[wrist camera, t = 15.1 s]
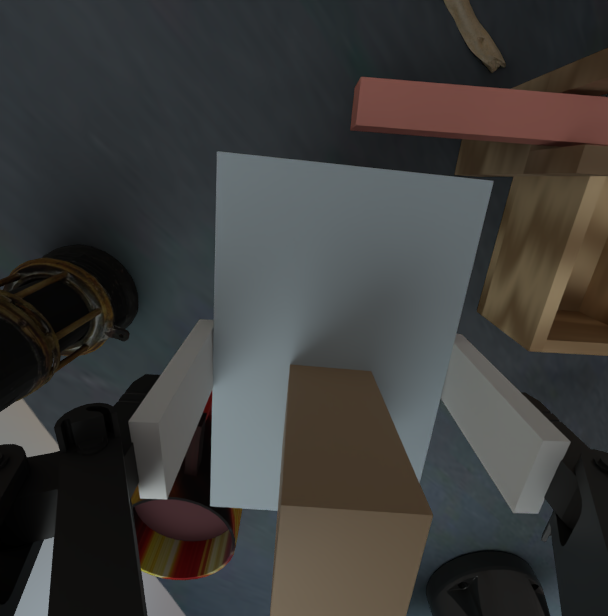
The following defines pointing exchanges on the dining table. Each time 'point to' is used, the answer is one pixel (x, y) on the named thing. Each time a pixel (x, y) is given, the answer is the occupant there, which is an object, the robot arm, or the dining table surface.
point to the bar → (479, 113)
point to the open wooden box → (552, 265)
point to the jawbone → (475, 34)
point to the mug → (187, 518)
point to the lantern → (59, 314)
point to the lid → (335, 365)
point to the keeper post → (539, 158)
